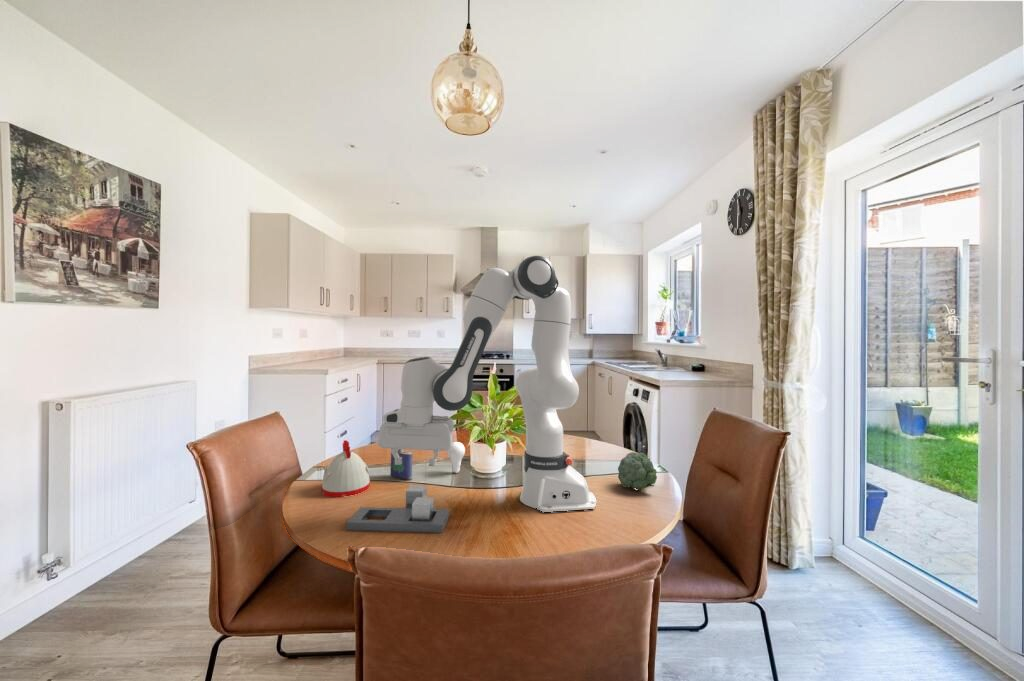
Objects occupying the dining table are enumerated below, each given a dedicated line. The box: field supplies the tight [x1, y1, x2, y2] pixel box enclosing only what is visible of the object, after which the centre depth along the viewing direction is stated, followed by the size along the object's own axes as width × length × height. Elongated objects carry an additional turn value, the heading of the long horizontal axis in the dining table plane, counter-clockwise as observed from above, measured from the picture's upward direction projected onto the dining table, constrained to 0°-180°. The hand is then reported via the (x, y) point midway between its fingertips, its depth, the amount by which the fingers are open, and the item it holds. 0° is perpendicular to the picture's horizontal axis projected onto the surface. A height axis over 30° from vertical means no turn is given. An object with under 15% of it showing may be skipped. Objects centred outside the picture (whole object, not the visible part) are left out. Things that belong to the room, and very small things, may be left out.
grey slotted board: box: [345, 506, 450, 534], centre depth 103 cm, size 24×9×2 cm, turn 88°
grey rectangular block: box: [405, 484, 427, 508], centre depth 112 cm, size 4×4×6 cm
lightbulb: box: [447, 441, 466, 474], centre depth 143 cm, size 6×6×11 cm
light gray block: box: [412, 497, 435, 522], centre depth 103 cm, size 4×4×6 cm
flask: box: [389, 449, 414, 481], centre depth 137 cm, size 9×3×11 cm, turn 61°
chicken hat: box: [321, 439, 371, 498], centre depth 127 cm, size 14×14×15 cm
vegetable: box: [617, 451, 658, 491], centre depth 131 cm, size 12×13×15 cm
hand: (415, 464), depth 112 cm, fingers open, 8 cm apart
